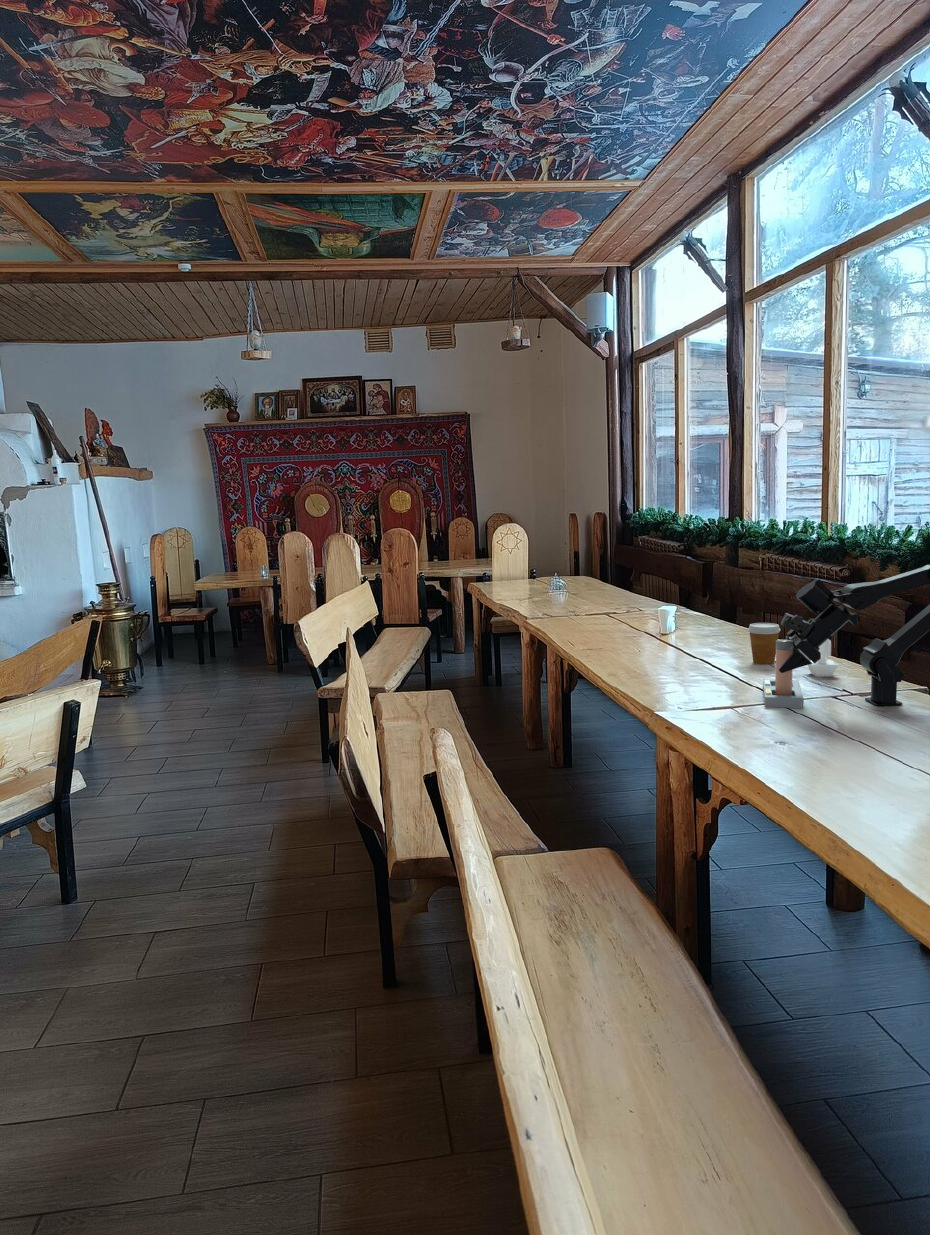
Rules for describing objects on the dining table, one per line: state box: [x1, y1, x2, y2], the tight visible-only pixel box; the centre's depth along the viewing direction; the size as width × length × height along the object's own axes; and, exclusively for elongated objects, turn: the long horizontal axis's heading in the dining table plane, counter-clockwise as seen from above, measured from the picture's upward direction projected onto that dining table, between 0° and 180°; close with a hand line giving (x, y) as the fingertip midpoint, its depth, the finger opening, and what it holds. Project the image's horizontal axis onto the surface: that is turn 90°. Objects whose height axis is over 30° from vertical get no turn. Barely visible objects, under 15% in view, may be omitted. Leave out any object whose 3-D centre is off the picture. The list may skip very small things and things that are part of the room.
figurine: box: [806, 639, 840, 678], centre depth 231 cm, size 7×9×15 cm
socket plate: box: [762, 678, 805, 709], centre depth 209 cm, size 20×9×3 cm, turn 161°
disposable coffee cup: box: [747, 622, 781, 666], centre depth 251 cm, size 10×10×12 cm
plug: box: [774, 639, 793, 696], centre depth 204 cm, size 4×4×16 cm
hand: (777, 667), depth 204 cm, fingers open, 9 cm apart
